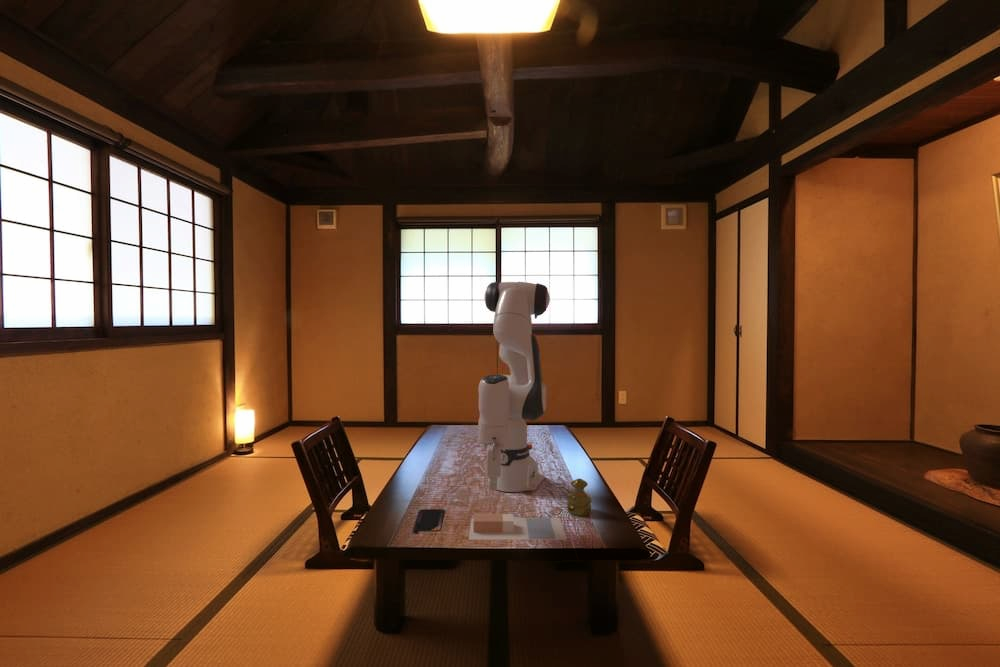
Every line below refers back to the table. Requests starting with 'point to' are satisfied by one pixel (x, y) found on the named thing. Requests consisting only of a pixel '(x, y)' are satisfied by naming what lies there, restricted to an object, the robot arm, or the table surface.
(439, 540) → the table surface
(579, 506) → the olive green vase
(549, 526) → the mat
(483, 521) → the two-tone tall block
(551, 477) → the table surface
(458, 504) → the table surface
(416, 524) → the phone
